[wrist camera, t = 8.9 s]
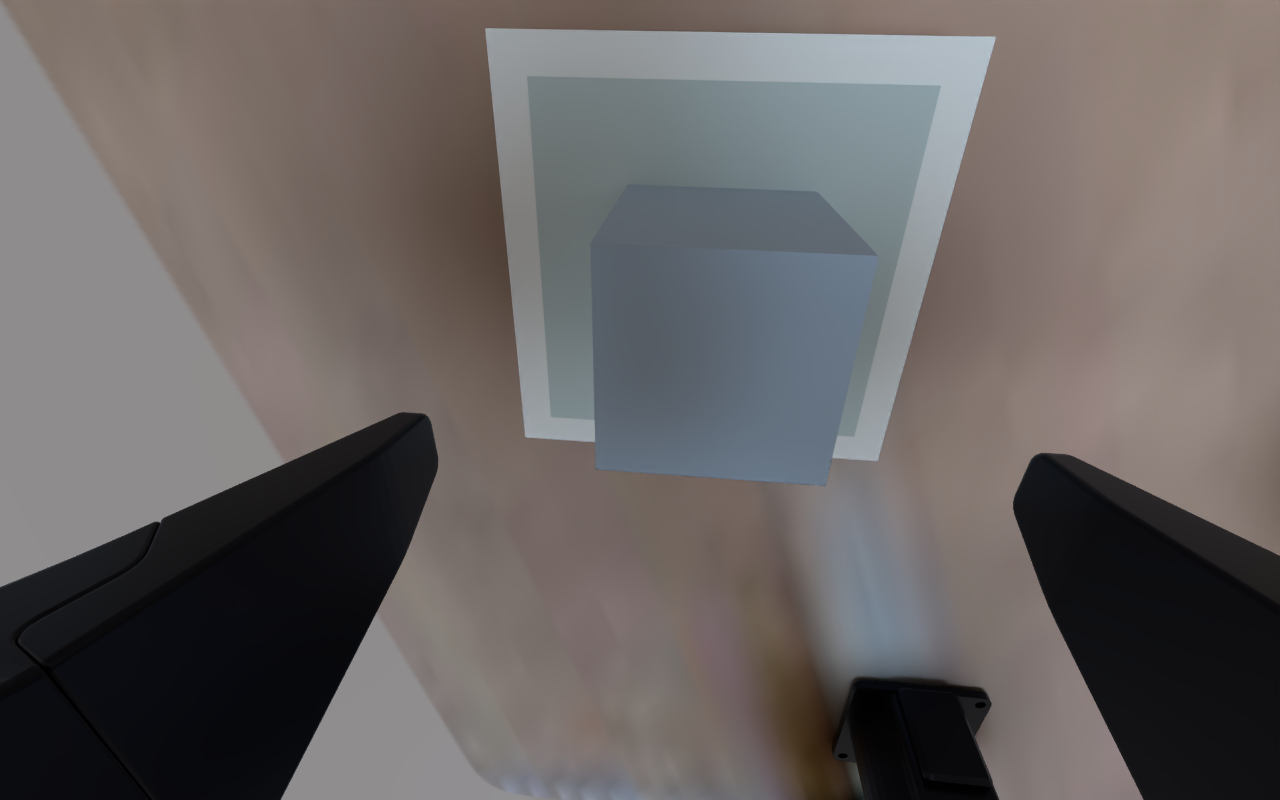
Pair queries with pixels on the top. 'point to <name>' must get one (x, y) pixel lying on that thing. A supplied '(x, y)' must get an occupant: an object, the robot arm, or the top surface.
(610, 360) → the block
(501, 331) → the top surface
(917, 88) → the base
